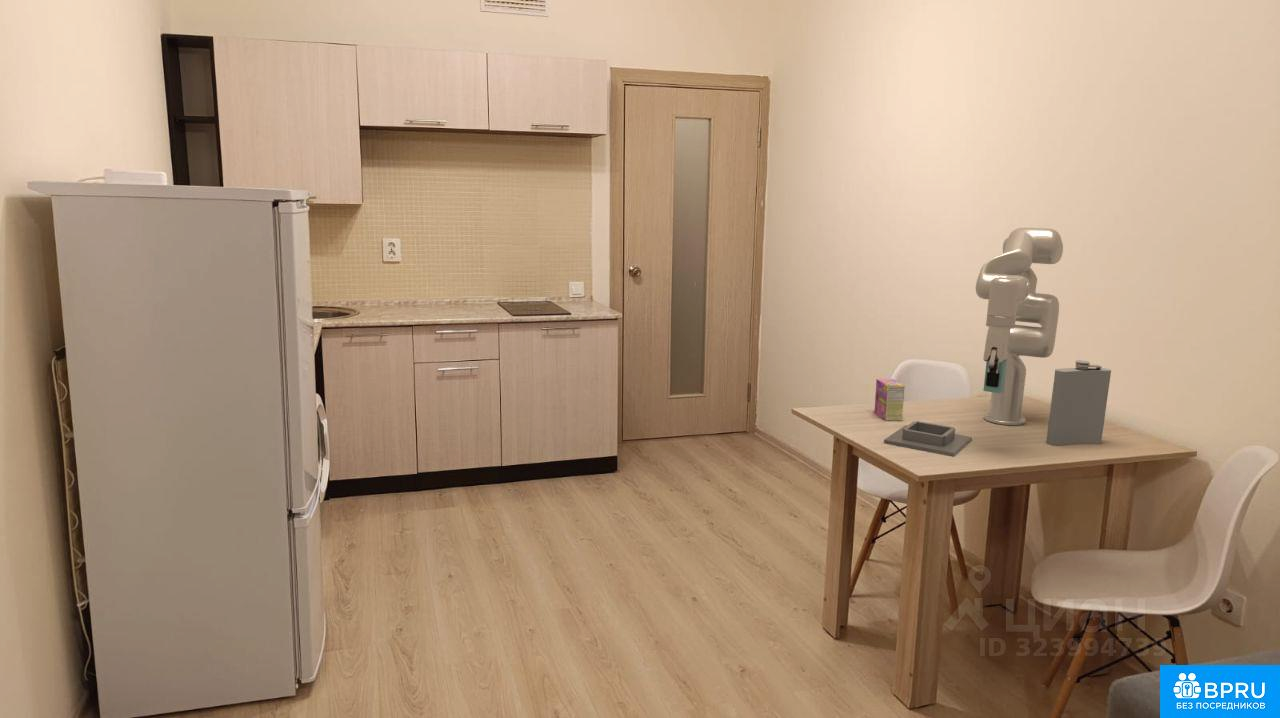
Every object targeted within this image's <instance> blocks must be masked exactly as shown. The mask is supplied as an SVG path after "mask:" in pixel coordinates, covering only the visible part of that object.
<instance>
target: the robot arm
mask: <svg viewBox="0 0 1280 718" xmlns="http://www.w3.org/2000/svg"><path fill="white" fill-rule="evenodd" d="M1063 244H1064V243H1063V240H1062V237H1061V235H1060V233H1059V232H1058V231H1057V229H1056V230H1055V229H1053V228H1043V227H1019V228H1016V229H1013V230H1012V231H1011V232H1010V233H1009V235H1008V237H1007V238H1005V239H1004V241H1003V243H1002V253H1001V254H998V255H997V256H994V257H993V258H991V259H989V260H987V261H986V262H985V263H984V264H983V265H982V267H981V268H980V270H979V274H978V276H977V279H976V282H975V293H976V295H977V296H978V298H980V299H982V300H987V301H988V302H987V303H988V304H987V311H986V321H985V322H986V323H985V326H986V327H988V330H987V335H986V339H985V345H984V353H983V361H984V362H987V360H988V359H989V365H988V372H987V379H986V386H990V387H998V383H999V374H1000V373H999V366H1000V363H1001V362H1003V361H1004V360H1005V359H1006V360H1007V362H1006V371H1005V380H1004V389H1003V391H1002V392H1001V393H994V392H990V393H991V394H990V395H991V396H990V403H989V404H990V405H989V412H986V413H984V414H983V419H984V420H985V421H987V422H989V423H994V424H996V425H997V424H998V425H1002V426H1003V425H1004V426H1005V425H1006V426H1022V425H1025V424H1026V420H1027V419H1026V418H1025V417H1024V416H1022V411H1023V402H1024V392H1025V383H1026V375H1027V368H1026V365H1025V363H1024V362H1023V360H1022V358H1020V357H1023V356H1024V357H1025V356H1026V357H1033V358H1043V359H1044V358H1048V357H1050V356H1051V355H1052V354H1053V353H1054V348H1055V345H1056V344H1055V343H1056V337H1057V336H1056V335H1057V328H1058V321H1059V315H1060V314H1059V313H1060V303H1059V299H1058V297H1056V296H1055V295H1053V294H1049V293H1048V294H1047V293H1039V292H1036V290H1037V285H1038V284H1037V282H1038V277H1037V275H1036V273H1035V271H1034V270H1033V269H1032V267H1031V266H1032V264H1039V265H1040V264H1041V265H1054V264H1055V265H1056V264H1058V263H1059V262H1060V261H1061V259H1062V257H1063V256H1062V255H1063V252H1064V245H1063ZM1016 322H1018V323H1019V322H1020V323H1031V324H1038V325H1040V326H1030V325H1029V326H1028V325H1022V324H1016ZM995 360H998V362H995ZM995 364H997V366H996V365H995ZM996 367H997V368H996Z"/></svg>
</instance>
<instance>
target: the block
mask: <svg viewBox="0 0 1280 718" xmlns="http://www.w3.org/2000/svg"><path fill="white" fill-rule="evenodd" d="M995 362H998V360H995ZM1006 362H1007V360H1006V359H1005V360H1004V361H1003V362H1001V363H1000V366H999V373H1000V374H999V383H998V387H990V386H986V379H987V372H988V365H989V359H988V360H987V361H985V371H984V382H983V390H982V391H983V392H987V393H992V392H994V393H1001V392H1002V391H1003V389H1004V380H1005V371H1006ZM995 365H996V366H997V364H995ZM996 368H997V367H996Z"/></svg>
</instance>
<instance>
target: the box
mask: <svg viewBox="0 0 1280 718" xmlns="http://www.w3.org/2000/svg"><path fill="white" fill-rule="evenodd" d="M874 397H875V398H874V412H875V413H874V414H876V415H878V417H880V418H881V419H883V420H884V421H885V422H887V421H888V422H889V421H890V422H891V421H893V422H894V421H895V422H896V421H903V411H904V398H905V385H904V384H903V383H900V382H899V381H897V380H895V379H894V378H876V381H875V395H874Z"/></svg>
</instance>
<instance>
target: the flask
mask: <svg viewBox="0 0 1280 718" xmlns="http://www.w3.org/2000/svg"><path fill="white" fill-rule="evenodd" d="M1074 363H1075V366H1074V367H1067V368H1066V367H1063V368H1055V370H1054V376H1053V377H1054V378H1053V383H1052V384H1053V385H1052V386H1053V387H1052V393H1051V399H1050V400H1051V402H1050V409H1049V418H1048V426H1047V432H1046V440H1045V443H1046V444H1047V445H1049V446H1052V447H1053V446H1054V447H1059V446H1069V445H1101V444H1102V439H1103V431H1104V425H1105V417H1106V411H1107V403H1108V398H1109V397H1108V396H1109V388H1110V383H1111V376H1112V375H1111V373H1112V370H1111V369H1109V368H1104V367H1102V366H1101V365H1099V364H1091V363H1090V361H1087V360H1082V359H1081V360H1079V359H1078V360H1075V362H1074Z"/></svg>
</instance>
